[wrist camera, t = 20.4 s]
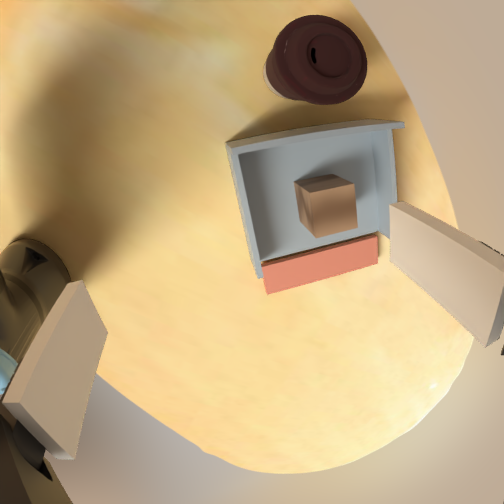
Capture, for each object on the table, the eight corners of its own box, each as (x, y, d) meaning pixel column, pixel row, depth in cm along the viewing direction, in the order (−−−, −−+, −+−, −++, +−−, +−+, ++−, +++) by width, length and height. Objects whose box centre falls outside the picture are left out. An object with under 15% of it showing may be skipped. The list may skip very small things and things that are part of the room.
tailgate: (259, 263, 49) (265, 290, 51) (261, 267, 48) (267, 294, 50) (373, 233, 50) (374, 260, 52) (377, 236, 49) (377, 263, 51)
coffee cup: (333, 67, 38) (390, 51, 25) (300, 120, 41) (347, 123, 28) (275, 29, 35) (311, -8, 22) (239, 84, 38) (259, 66, 24)
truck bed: (251, 260, 48) (262, 290, 40) (225, 142, 41) (231, 148, 33) (378, 227, 50) (409, 249, 42) (369, 118, 42) (404, 121, 34)
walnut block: (293, 181, 43) (309, 193, 37) (332, 173, 44) (354, 183, 37) (299, 221, 46) (315, 238, 40) (337, 212, 46) (357, 227, 40)
